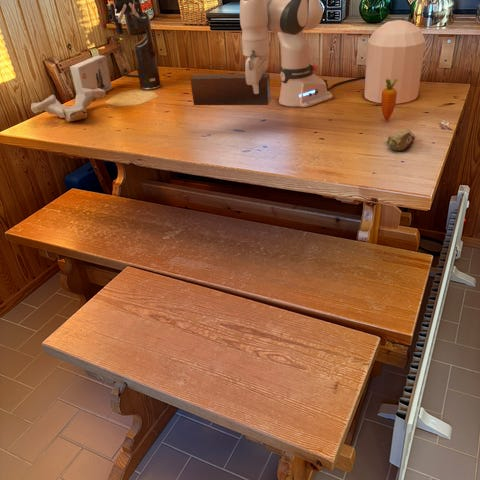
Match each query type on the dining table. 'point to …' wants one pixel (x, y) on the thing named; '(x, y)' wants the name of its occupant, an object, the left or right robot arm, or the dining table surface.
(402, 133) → the rock
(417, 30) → the container
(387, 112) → the carrot
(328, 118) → the dining table surface
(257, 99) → the bar
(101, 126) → the dining table surface
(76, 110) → the animal horns
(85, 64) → the skincare box
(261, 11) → the right robot arm
